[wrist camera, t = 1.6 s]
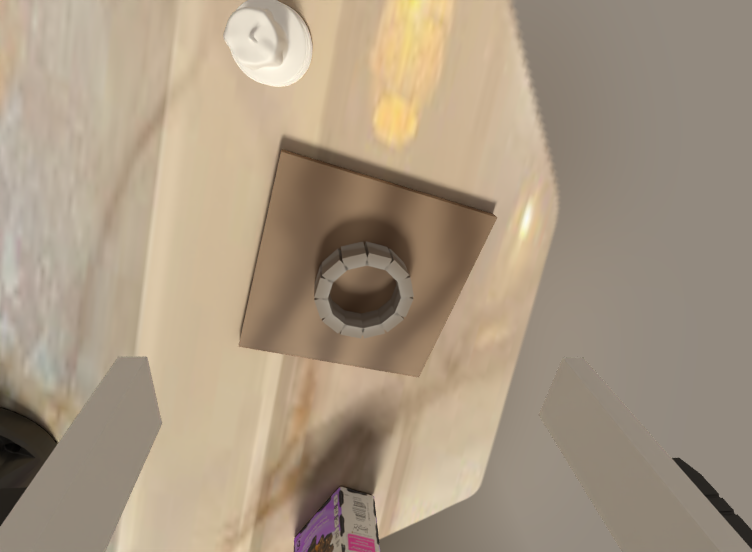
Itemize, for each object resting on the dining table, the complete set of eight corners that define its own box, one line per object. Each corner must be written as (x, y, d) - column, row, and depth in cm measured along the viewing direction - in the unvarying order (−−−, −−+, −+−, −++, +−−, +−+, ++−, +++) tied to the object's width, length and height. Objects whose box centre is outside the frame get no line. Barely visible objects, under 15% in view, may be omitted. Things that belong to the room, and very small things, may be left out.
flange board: (240, 340, 40) (233, 363, 37) (282, 149, 32) (278, 158, 29) (416, 371, 45) (423, 393, 42) (493, 213, 37) (508, 227, 34)
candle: (327, 43, 29) (331, 32, 18) (283, 102, 30) (264, 123, 20) (265, -19, 26) (230, -72, 16) (222, 48, 28) (163, 39, 18)
